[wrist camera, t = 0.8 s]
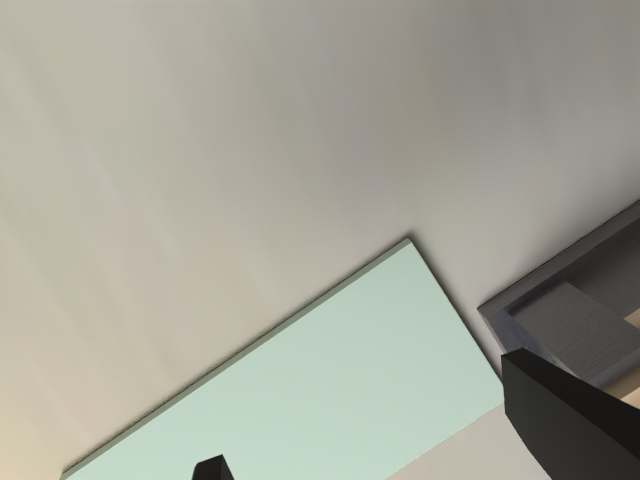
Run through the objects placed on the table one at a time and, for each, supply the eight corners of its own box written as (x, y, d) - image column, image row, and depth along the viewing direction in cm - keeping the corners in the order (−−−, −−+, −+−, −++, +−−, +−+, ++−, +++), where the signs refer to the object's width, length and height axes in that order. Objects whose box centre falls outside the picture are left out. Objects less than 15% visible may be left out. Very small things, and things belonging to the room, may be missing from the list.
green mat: (504, 389, 26) (510, 396, 26) (206, 585, 27) (206, 595, 27) (407, 237, 22) (411, 242, 22) (61, 474, 23) (57, 484, 23)
